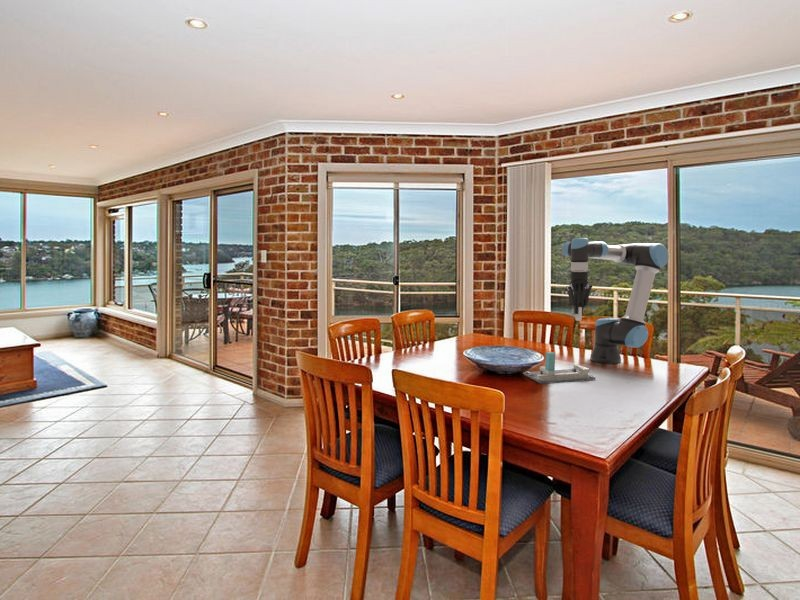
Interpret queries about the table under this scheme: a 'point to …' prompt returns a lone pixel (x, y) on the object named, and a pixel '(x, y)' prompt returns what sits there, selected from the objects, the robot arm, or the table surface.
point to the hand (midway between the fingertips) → (578, 320)
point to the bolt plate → (534, 376)
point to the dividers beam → (567, 374)
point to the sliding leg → (549, 364)
